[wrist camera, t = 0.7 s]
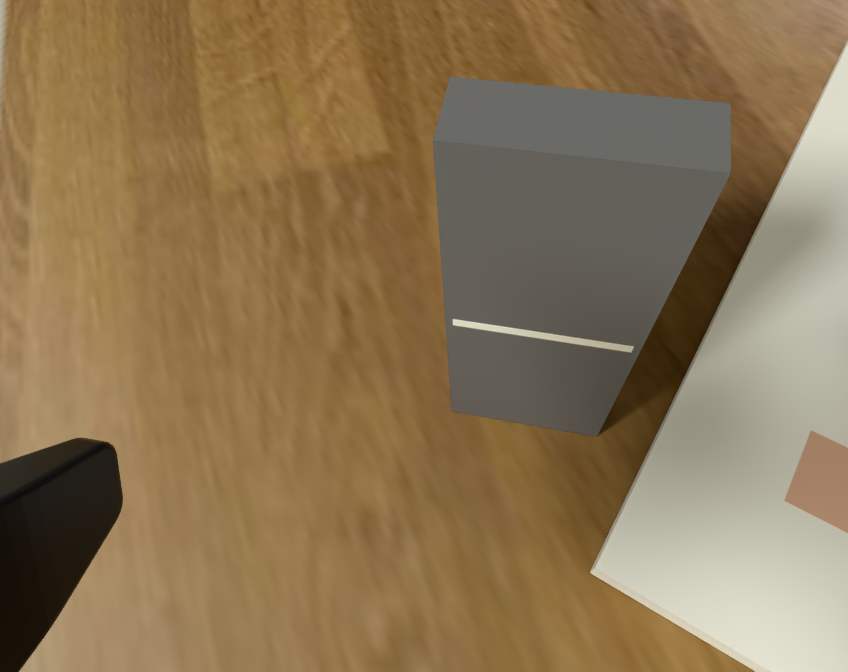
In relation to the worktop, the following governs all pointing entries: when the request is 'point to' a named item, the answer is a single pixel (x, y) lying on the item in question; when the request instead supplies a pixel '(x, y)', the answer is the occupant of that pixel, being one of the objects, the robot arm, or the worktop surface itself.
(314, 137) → the worktop surface
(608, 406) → the domino
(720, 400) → the domino board
